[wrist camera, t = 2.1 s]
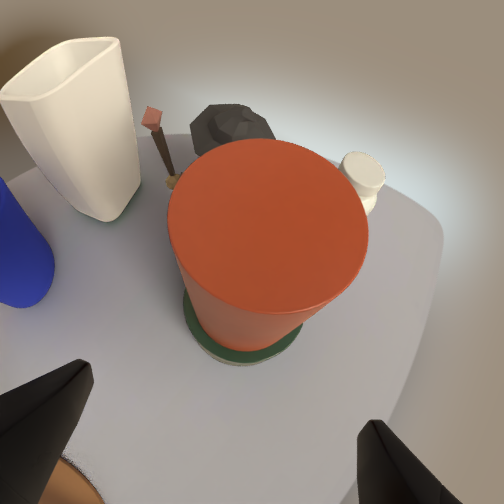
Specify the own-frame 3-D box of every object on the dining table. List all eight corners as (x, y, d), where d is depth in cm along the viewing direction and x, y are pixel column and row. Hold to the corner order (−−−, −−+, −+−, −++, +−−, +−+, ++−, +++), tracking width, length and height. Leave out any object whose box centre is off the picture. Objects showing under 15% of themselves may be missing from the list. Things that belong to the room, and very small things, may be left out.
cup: (157, 176, 26) (130, 35, 13) (117, 239, 23) (45, 100, 10) (102, 160, 27) (61, 39, 13) (62, 214, 24) (-11, 98, 10)
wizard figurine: (234, 170, 27) (244, 61, 17) (272, 208, 26) (304, 99, 15) (160, 213, 25) (131, 103, 14) (196, 260, 23) (179, 155, 12)
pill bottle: (300, 209, 26) (325, 151, 19) (338, 198, 27) (369, 143, 20) (323, 250, 25) (359, 199, 18) (361, 235, 26) (401, 186, 19)
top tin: (307, 337, 17) (397, 284, 8) (205, 361, 16) (184, 337, 7) (280, 246, 19) (326, 133, 10) (186, 263, 18) (160, 150, 9)
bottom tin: (301, 352, 21) (321, 345, 17) (201, 375, 19) (196, 375, 15) (275, 261, 24) (287, 235, 20) (182, 279, 22) (174, 255, 18)
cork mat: (130, 555, 11) (129, 558, 11) (35, 536, 9) (32, 538, 8) (87, 451, 15) (84, 453, 15) (-3, 441, 13) (-7, 441, 13)
